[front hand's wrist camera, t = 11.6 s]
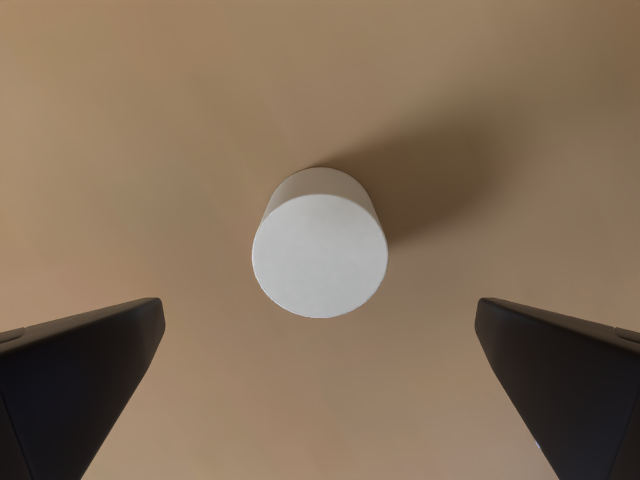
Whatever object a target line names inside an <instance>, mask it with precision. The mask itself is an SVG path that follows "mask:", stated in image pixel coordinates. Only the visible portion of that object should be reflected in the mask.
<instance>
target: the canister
mask: <svg viewBox="0 0 640 480" xmlns="http://www.w3.org/2000/svg"><path fill="white" fill-rule="evenodd" d="M252 263H253V269H254V272H255V276H256V278H257V280H258V282H259V284H260V286H261V287H262V289H263V290H264V291H265V293H266V294H267V295H268V296H269V297H270V298H271V299H272V300H273V301H274V302H275V303H277V304H278V305H279V306H281V307H282V308H284V309H286V310H288V311H290V312H292V313H295V314H298V315H301V316H306V317H312V318H329V317H335V316H339V315H342V314H346V313H348V312H350V311H353V310H354V309H356V308H358V307H360V306H361V305H362V304H364V303H365V302H366V301H367V300H368V299H370V298H371V297H372V296H373V294H374V293H375V292H376V291H377V289H378V288H379V286H380V284H381V283H382V281H383V279H384V276H385V274H386V270H387V266H388V245H387V241H386V237H385V234H384V232H383V229H382V227H381V224H380V222H379V219H378V217H377V215H376V212H375V210H374V207H373V205H372V202H371V200H370V198H369V196H368V194H367V192H366V191H365V189H364V188H363V187H362V186H361V184H360V183H359V182H357V181H356V180H355V179H354V178H352V177H351V176H349V175H348V174H346V173H344V172H342V171H339V170H336V169H331V168H324V167H316V168H309V169H305V170H302V171H299V172H297V173H295V174H293V175H291V176H289V177H288V178H286V179H285V180H284V181H283V182H282V183H281V184H280V185H279V186H278V187H277V188H276V190H275V191H274V193H273V194H272V196H271V198H270V201H269V203H268V206H267V208H266V210H265V213H264V215H263V218H262V220H261V223H260V225H259V228H258V230H257V233H256V235H255V238H254V242H253V247H252Z"/></svg>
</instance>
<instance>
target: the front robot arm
mask: <svg viewBox="0 0 640 480" xmlns="http://www.w3.org/2000/svg"><path fill="white" fill-rule="evenodd" d="M164 331H165V318H164V312H163V306H162V302H161V300H160V299H159V298H142V299H138V300H134V301H130V302H126V303H122V304H118V305H114V306H110V307H106V308H102V309H98V310H94V311H90V312H86V313H82V314H77V315H73V316H69V317H65V318H61V319H57V320H53V321H49V322H45V323H41V324H37V325H33V326H29V327H26V329H25V328H24V327H23V328H18V329H14V330H10V331H6V332H2V333H0V480H81V478H82V476H83V475H84V473H85V471H86V470H87V468H88V467H89V465H90V463H91V462H92V460H93V458H94V457H95V455H96V453H97V452H98V450H99V449H100V447H101V445H102V444H103V442H104V440H105V439H106V437H107V435H108V434H109V432H110V431H111V429H112V427H113V426H114V424H115V422H116V421H117V419H118V417H119V416H120V414H121V413H122V411H123V409H124V408H125V406H126V404H127V403H128V401H129V399H130V398H131V396H132V395H133V393H134V391H135V390H136V388H137V386H138V385H139V383H140V381H141V380H142V378H143V377H144V375H145V373H146V371H147V370H148V368H149V366H150V364H151V361H152V359H153V357H154V355H155V352H156V350H157V348H158V346H159V343H160V341H161V339H162V336H163V334H164ZM475 331H476V334H477V336H478V339H479V341H480V343H481V346H482V348H483V350H484V352H485V355H486V357H487V359H488V361H489V364H490V366H491V368H492V370H493V371H494V373H495V375H496V377H497V378H498V380H499V381H500V383H501V385H502V386H503V388H504V390H505V391H506V393H507V395H508V396H509V398H510V399H511V401H512V403H513V404H514V406H515V408H516V409H517V411H518V413H519V414H520V416H521V417H522V419H523V421H524V422H525V424H526V426H527V427H528V429H529V431H530V432H531V434H532V435H533V437H534V439H535V440H536V442H537V444H538V445H539V447H540V449H541V450H542V452H543V453H544V455H545V457H546V458H547V460H548V462H549V463H550V465H551V467H552V468H553V470H554V471H555V473H556V475H557V476H558V478H559V480H640V333H638V332H634V331H630V330H626V329H622V328H617V327H616V328H615V329H614V327H611V326H607V325H603V324H599V323H595V322H591V321H587V320H583V319H579V318H575V317H571V316H567V315H563V314H558V313H554V312H550V311H546V310H542V309H538V308H534V307H530V306H526V305H522V304H518V303H514V302H510V301H506V300H502V299H498V298H481V299H480V300H479V302H478V306H477V312H476V318H475Z"/></svg>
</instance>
